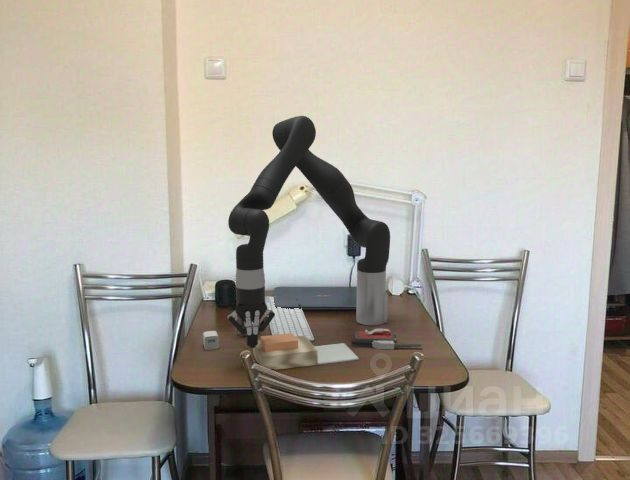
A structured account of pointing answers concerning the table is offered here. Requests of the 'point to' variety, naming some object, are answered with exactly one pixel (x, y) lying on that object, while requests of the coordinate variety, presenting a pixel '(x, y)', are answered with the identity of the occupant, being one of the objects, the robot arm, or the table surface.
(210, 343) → the usb wall charger
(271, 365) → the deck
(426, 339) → the table surface
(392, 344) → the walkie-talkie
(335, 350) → the mat
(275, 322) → the keyboard
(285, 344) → the tile
